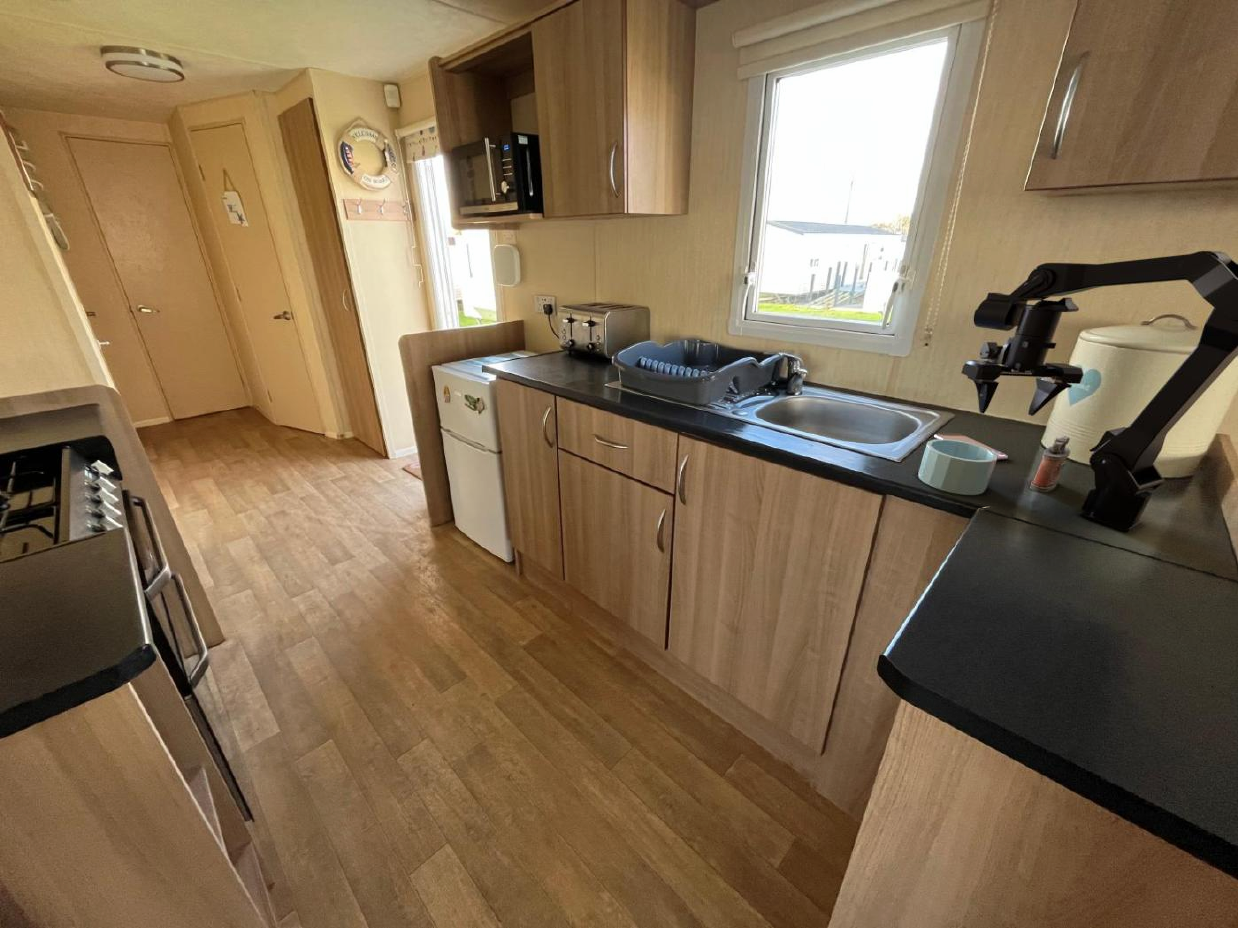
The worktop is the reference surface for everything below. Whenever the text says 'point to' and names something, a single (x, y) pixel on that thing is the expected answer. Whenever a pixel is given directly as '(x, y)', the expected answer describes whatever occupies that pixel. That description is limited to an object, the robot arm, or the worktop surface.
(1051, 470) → the lighter
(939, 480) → the pale green round tub
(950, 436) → the mobile phone
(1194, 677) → the worktop surface
